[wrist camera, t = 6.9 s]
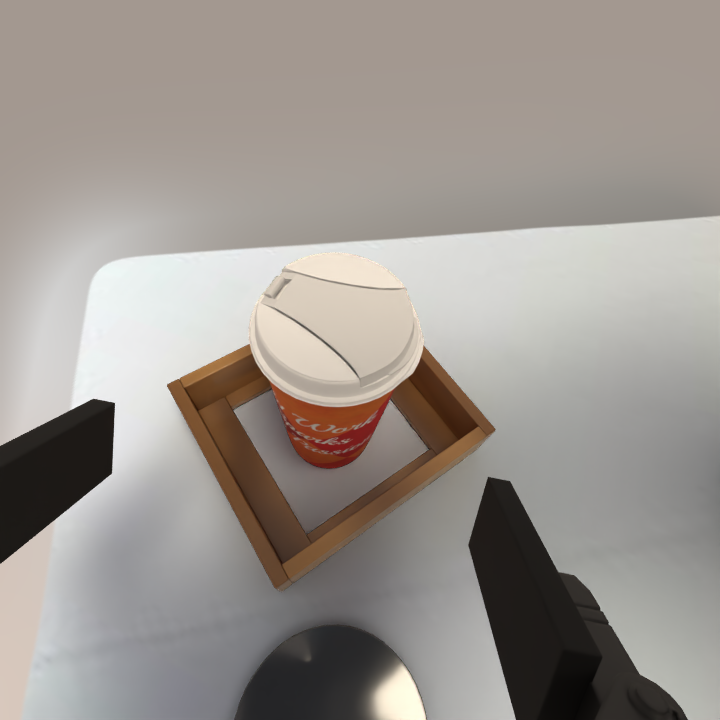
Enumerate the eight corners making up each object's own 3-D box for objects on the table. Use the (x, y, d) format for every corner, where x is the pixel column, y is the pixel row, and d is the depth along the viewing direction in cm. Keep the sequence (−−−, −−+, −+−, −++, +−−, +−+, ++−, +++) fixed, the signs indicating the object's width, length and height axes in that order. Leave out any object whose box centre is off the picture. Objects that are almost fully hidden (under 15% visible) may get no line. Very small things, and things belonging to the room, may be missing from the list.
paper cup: (253, 455, 29) (206, 344, 17) (306, 365, 33) (299, 222, 21) (359, 505, 28) (390, 426, 16) (402, 407, 32) (453, 282, 20)
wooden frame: (365, 315, 36) (371, 283, 32) (476, 449, 31) (496, 429, 27) (183, 410, 30) (166, 384, 27) (281, 592, 25) (275, 589, 22)
